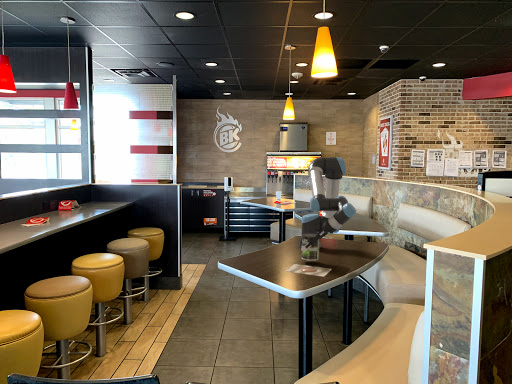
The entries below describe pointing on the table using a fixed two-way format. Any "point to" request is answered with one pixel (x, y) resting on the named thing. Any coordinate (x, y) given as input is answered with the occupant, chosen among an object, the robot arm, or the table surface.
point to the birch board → (319, 272)
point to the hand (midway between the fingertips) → (305, 248)
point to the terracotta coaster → (308, 269)
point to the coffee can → (313, 251)
